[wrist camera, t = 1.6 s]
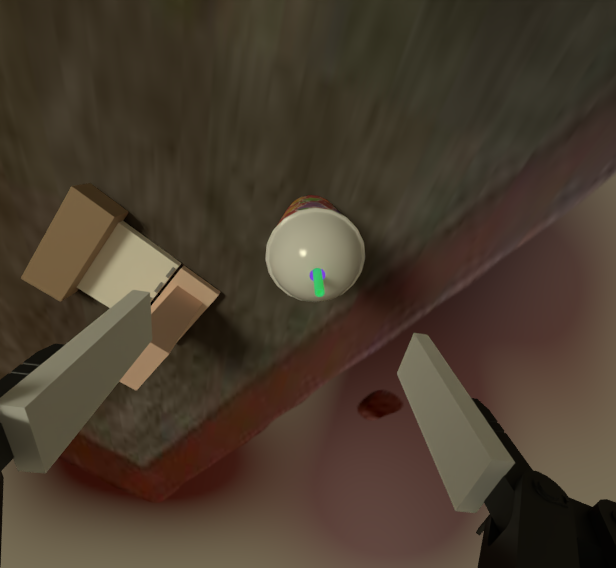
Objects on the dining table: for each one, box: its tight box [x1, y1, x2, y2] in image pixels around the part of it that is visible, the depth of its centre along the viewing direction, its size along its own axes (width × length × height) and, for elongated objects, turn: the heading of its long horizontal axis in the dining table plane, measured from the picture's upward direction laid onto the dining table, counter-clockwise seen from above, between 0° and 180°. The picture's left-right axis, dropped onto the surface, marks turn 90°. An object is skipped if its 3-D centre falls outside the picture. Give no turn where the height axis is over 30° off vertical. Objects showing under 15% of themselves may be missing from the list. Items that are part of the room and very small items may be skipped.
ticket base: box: [21, 183, 181, 308], centre depth 37 cm, size 14×15×3 cm
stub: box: [119, 266, 220, 390], centre depth 36 cm, size 6×12×12 cm, turn 137°
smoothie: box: [265, 195, 365, 302], centre depth 27 cm, size 8×8×20 cm
